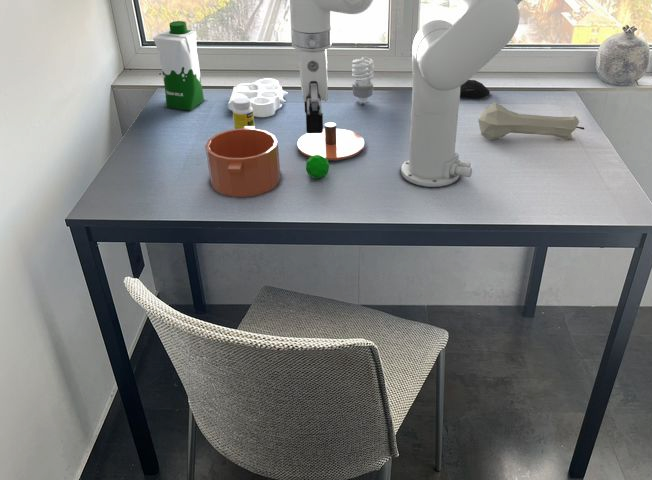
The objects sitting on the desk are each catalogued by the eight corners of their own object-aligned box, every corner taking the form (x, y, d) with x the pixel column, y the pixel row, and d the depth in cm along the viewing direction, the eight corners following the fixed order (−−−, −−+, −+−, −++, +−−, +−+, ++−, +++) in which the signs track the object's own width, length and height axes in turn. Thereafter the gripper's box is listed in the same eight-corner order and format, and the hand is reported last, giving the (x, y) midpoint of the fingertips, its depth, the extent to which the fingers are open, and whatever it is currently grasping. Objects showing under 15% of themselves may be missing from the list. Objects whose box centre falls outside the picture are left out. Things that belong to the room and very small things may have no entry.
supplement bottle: (251, 138, 160) (247, 104, 155) (232, 137, 161) (228, 103, 156) (257, 130, 164) (254, 97, 159) (239, 128, 165) (235, 95, 160)
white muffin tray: (235, 90, 185) (290, 90, 185) (226, 117, 170) (285, 117, 170) (234, 78, 183) (289, 78, 183) (225, 105, 168) (284, 104, 168)
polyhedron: (310, 184, 143) (309, 163, 140) (303, 173, 147) (302, 153, 144) (332, 179, 144) (332, 159, 142) (325, 169, 148) (324, 149, 145)
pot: (284, 158, 152) (282, 123, 147) (273, 204, 136) (270, 166, 131) (220, 158, 152) (216, 122, 147) (202, 203, 136) (196, 165, 131)
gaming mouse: (434, 88, 186) (435, 74, 183) (489, 91, 184) (490, 77, 182) (432, 97, 181) (433, 82, 178) (489, 100, 179) (491, 86, 177)
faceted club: (472, 124, 164) (575, 129, 165) (476, 149, 159) (582, 153, 160) (479, 95, 157) (586, 99, 158) (483, 119, 152) (594, 124, 153)
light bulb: (360, 109, 174) (360, 63, 167) (347, 102, 178) (347, 56, 171) (377, 104, 177) (378, 58, 170) (365, 97, 181) (365, 52, 174)
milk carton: (209, 99, 179) (198, 22, 168) (191, 113, 173) (179, 33, 161) (179, 95, 182) (167, 19, 170) (161, 108, 175) (147, 29, 163)
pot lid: (364, 133, 163) (364, 110, 160) (364, 162, 151) (364, 139, 147) (300, 132, 163) (298, 110, 160) (294, 162, 151) (293, 139, 147)
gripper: (334, 52, 121) (335, 140, 131) (328, 23, 135) (329, 105, 145) (292, 52, 121) (296, 141, 131) (290, 23, 135) (294, 106, 145)
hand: (313, 122), depth 138 cm, fingers open, 9 cm apart
